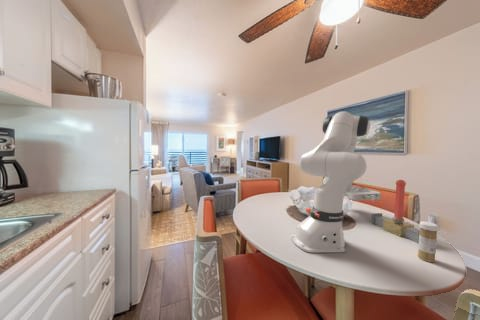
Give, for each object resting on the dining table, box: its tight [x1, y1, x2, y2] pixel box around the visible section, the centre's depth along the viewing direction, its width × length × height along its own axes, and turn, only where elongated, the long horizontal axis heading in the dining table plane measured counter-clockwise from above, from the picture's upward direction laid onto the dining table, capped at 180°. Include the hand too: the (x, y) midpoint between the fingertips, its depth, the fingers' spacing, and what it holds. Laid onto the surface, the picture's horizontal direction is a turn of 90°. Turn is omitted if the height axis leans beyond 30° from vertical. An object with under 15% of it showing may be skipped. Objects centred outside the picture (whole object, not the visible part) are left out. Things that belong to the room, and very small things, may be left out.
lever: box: [392, 179, 407, 222], centre depth 85 cm, size 4×4×21 cm
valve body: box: [371, 212, 420, 245], centre depth 86 cm, size 8×22×5 cm, turn 13°
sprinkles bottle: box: [417, 220, 439, 263], centre depth 65 cm, size 5×5×13 cm
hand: (376, 199), depth 97 cm, fingers closed
